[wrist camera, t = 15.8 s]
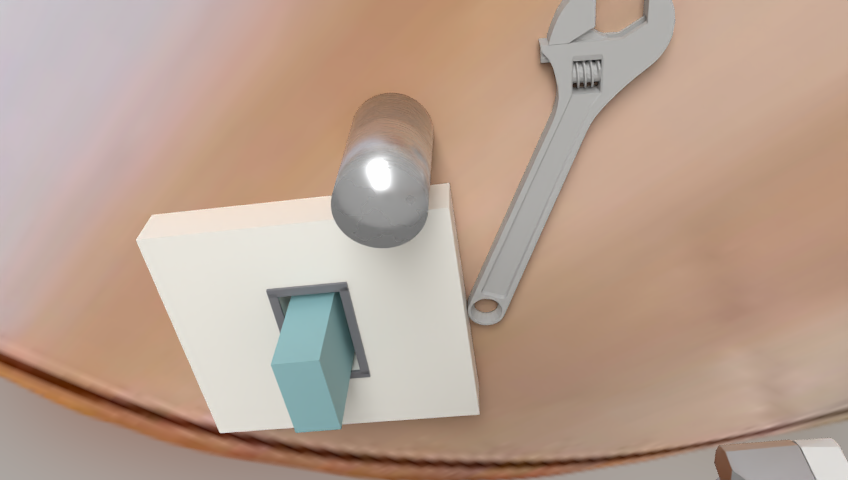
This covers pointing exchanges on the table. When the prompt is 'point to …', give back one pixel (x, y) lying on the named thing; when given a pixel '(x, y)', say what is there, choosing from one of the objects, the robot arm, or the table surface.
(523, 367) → the table surface
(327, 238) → the socket plate
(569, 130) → the adjustable wrench
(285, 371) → the flat bar
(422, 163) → the round peg
